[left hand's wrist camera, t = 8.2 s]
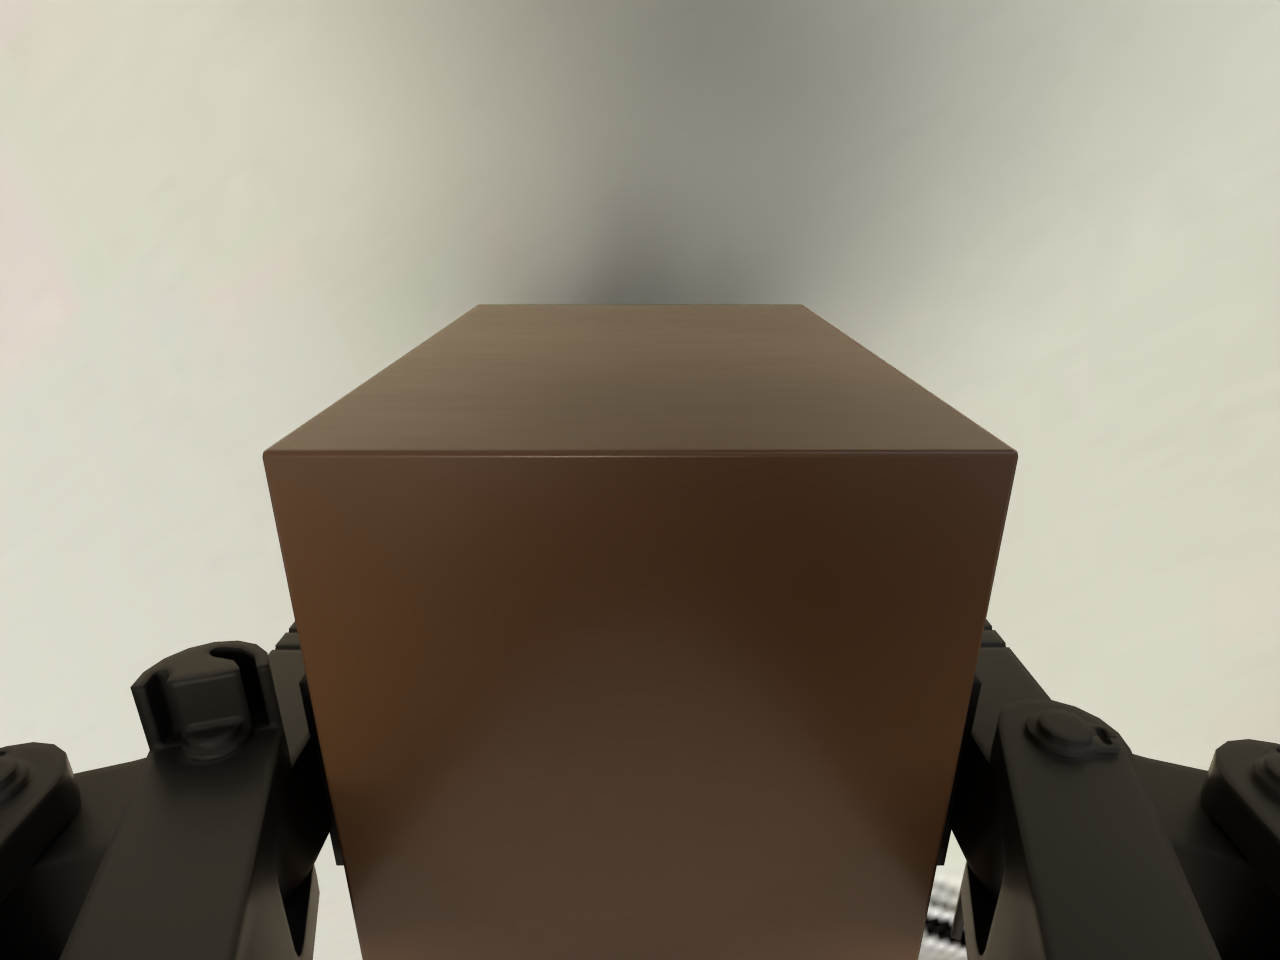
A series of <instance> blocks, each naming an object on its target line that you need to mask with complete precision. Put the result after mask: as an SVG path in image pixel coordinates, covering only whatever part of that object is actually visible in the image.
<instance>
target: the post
mask: <svg viewBox="0 0 1280 960" xmlns="http://www.w3.org/2000/svg"><path fill="white" fill-rule="evenodd" d="M1017 460H1018V453H1017V451H1016V450H1014V449H1013V448H1011V447H1010V446H1008V445H1007V444H1006V443H1004V442H1003V441H1001V440H1000V439H998V438H997V437H995V436H994V435H992V434H991V433H989V432H988V431H986V430H985V429H984V428H982V427H981V426H979V425H978V424H976V423H975V422H973V421H972V420H970V419H969V418H967V417H966V416H965V415H963V414H962V413H960V412H959V411H957V410H956V409H954V408H953V407H951V406H950V405H948V404H947V403H945V402H944V401H943V400H941V399H940V398H938V397H937V396H935V395H934V394H932V393H931V392H929V391H928V390H926V389H925V388H923V387H922V386H921V385H919V384H918V383H916V382H915V381H913V380H912V379H910V378H909V377H907V376H906V375H904V374H903V373H901V372H900V371H899V370H897V369H896V368H894V367H893V366H891V365H890V364H888V363H887V362H885V361H884V360H882V359H881V358H879V357H878V356H877V355H875V354H874V353H872V352H871V351H869V350H868V349H866V348H865V347H863V346H862V345H860V344H859V343H857V342H856V341H855V340H853V339H852V338H850V337H849V336H847V335H846V334H844V333H843V332H841V331H840V330H838V329H837V328H835V327H834V326H833V325H831V324H830V323H828V322H827V321H825V320H824V319H822V318H821V317H819V316H818V315H816V314H815V313H814V312H812V311H811V310H809V309H808V308H806V307H805V306H803V305H477V306H476V307H474V308H473V309H471V310H470V311H468V312H467V313H466V314H464V315H463V316H461V317H460V318H458V319H457V320H455V321H454V322H452V323H451V324H449V325H448V326H447V327H445V328H444V329H442V330H441V331H439V332H438V333H436V334H435V335H433V336H432V337H430V338H429V339H427V340H426V341H425V342H423V343H422V344H420V345H419V346H417V347H416V348H414V349H413V350H411V351H410V352H408V353H407V354H406V355H404V356H403V357H401V358H400V359H398V360H397V361H395V362H394V363H392V364H391V365H389V366H388V367H387V368H385V369H384V370H382V371H381V372H379V373H378V374H376V375H375V376H373V377H372V378H370V379H369V380H367V381H366V382H365V383H363V384H362V385H360V386H359V387H357V388H356V389H354V390H353V391H351V392H350V393H348V394H347V395H346V396H344V397H343V398H341V399H340V400H338V401H337V402H335V403H334V404H332V405H331V406H329V407H328V408H327V409H325V410H324V411H322V412H321V413H319V414H318V415H316V416H315V417H313V418H312V419H310V420H309V421H307V422H306V423H305V424H303V425H302V426H300V427H299V428H297V429H296V430H294V431H293V432H291V433H290V434H288V435H287V436H286V437H284V438H283V439H281V440H280V441H278V442H277V443H275V444H274V445H272V446H271V447H269V448H268V449H266V450H265V451H264V452H263V462H264V467H265V472H266V477H267V482H268V487H269V492H270V497H271V502H272V507H273V512H274V517H275V522H276V527H277V532H278V537H279V542H280V547H281V552H282V557H283V562H284V567H285V572H286V577H287V582H288V587H289V592H290V597H291V602H292V607H293V612H294V617H295V622H296V627H297V632H298V637H299V642H300V647H301V652H302V657H303V662H304V667H305V672H306V677H307V682H308V687H309V692H310V697H311V702H312V707H313V713H314V718H315V723H316V728H317V733H318V738H319V743H320V748H321V753H322V758H323V763H324V768H325V773H326V778H327V783H328V788H329V793H330V798H331V803H332V808H333V813H334V818H335V823H336V828H337V833H338V838H339V843H340V848H341V853H342V858H343V863H344V868H345V873H346V878H347V883H348V888H349V893H350V898H351V903H352V908H353V913H354V918H355V923H356V928H357V933H358V938H359V943H360V948H361V953H362V958H363V960H918V957H919V952H920V947H921V942H922V937H923V932H924V927H925V922H926V917H927V912H928V907H929V902H930V897H931V892H932V887H933V882H934V877H935V872H936V867H937V862H938V857H939V852H940V847H941V842H942V836H943V831H944V826H945V821H946V816H947V811H948V806H949V801H950V796H951V791H952V786H953V781H954V776H955V771H956V766H957V761H958V756H959V751H960V746H961V741H962V736H963V731H964V726H965V721H966V716H967V711H968V706H969V701H970V696H971V691H972V686H973V681H974V676H975V671H976V666H977V661H978V656H979V651H980V646H981V641H982V636H983V631H984V626H985V621H986V616H987V611H988V606H989V601H990V596H991V591H992V586H993V581H994V576H995V571H996V565H997V560H998V555H999V550H1000V545H1001V540H1002V535H1003V530H1004V525H1005V520H1006V515H1007V510H1008V505H1009V500H1010V495H1011V490H1012V485H1013V480H1014V475H1015V470H1016V465H1017Z"/></svg>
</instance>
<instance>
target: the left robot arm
mask: <svg viewBox="0 0 1280 960" xmlns="http://www.w3.org/2000/svg"><path fill="white" fill-rule="evenodd" d="M1005 644H1006V643H1005V642H1004V641H1003V639H1002V638H1001V637H1000V636H999V634H998V633H997V632H996V631H995V630H992V626H991V624H990V623H989V622H988V621H987V619H986V621H985V626H984V631H983V636H982V641H981V646H980V651H979V656H978V661H977V666H976V671H975V676H974V681H973V686H972V691H971V696H970V701H969V706H968V711H967V716H966V721H965V726H964V731H963V736H962V741H961V746H960V751H959V756H958V761H957V766H956V771H955V776H954V781H953V786H952V791H951V796H950V801H949V806H948V811H947V816H946V821H945V826H944V831H943V836H942V842H941V847H940V852H939V857H938V862H937V865H944V863H945V858H946V853H947V848H948V843H949V839H950V834H951V829H952V831H953V833H954V835H955V838H956V840H957V842H958V844H959V846H960V848H961V850H962V852H963V854H964V856H965V858H966V860H967V861H966V866H965V870H964V875H963V879H962V884H961V888H960V893H959V897H958V902H957V906H956V911H955V915H954V920H953V925H952V931H951V938H954V939H958V940H961V936H962V931H963V927H964V930H965V939H966V949H967V959H968V960H1280V744H1276V743H1270V742H1264V741H1257V740H1251V739H1245V740H1235V741H1227V742H1226V743H1225V744H1223V745H1222V746H1220V747H1219V748H1218V749H1216V751H1215V754H1214V757H1213V759H1212V762H1211V765H1210V768H1209V770H1208V771H1205V770H1201V769H1196V768H1191V767H1187V766H1182V765H1177V764H1173V763H1168V762H1163V761H1158V760H1154V759H1149V758H1145V757H1142V756H1138V755H1134V754H1132V752H1131V750H1130V748H1129V747H1128V745H1127V744H1126V743H1125V741H1124V740H1123V738H1122V737H1121V736H1120V734H1119V733H1118V732H1117V731H1115V730H1114V729H1113V728H1111V727H1110V726H1109V725H1107V724H1106V723H1105V722H1104V721H1102V720H1101V719H1100V718H1098V717H1096V716H1094V715H1092V714H1090V713H1087V712H1085V711H1083V710H1081V709H1079V708H1077V707H1075V706H1071V705H1067V704H1064V703H1060V702H1056V701H1053V700H1051V699H1050V698H1049V696H1048V695H1047V694H1046V693H1045V691H1044V690H1043V689H1042V688H1041V686H1040V685H1039V684H1038V683H1037V681H1036V680H1035V679H1034V678H1033V677H1032V675H1031V674H1030V673H1029V672H1028V670H1027V669H1026V668H1025V667H1024V665H1023V664H1022V663H1021V662H1020V660H1019V659H1018V658H1017V657H1016V655H1015V654H1014V653H1013V652H1012V650H1011V649H1010V648H1009V647H1006V645H1005ZM131 691H132V694H133V697H134V700H135V704H136V707H137V710H138V713H139V716H140V720H141V723H142V726H143V729H144V733H145V736H146V739H147V742H148V745H149V749H150V751H149V753H148V756H147V758H143V759H140V760H136V761H132V762H127V763H123V764H118V765H113V766H109V767H104V768H99V769H95V770H90V771H85V772H80V773H76V774H73V771H72V768H71V766H70V763H69V760H68V757H67V755H66V752H64V751H63V750H61V749H60V748H59V747H57V746H56V745H54V744H46V743H36V742H31V743H25V744H19V745H12V746H6V747H3V748H0V960H313V951H314V941H315V932H316V922H317V912H318V903H319V886H318V880H317V875H316V870H315V866H314V863H315V861H316V859H317V857H318V855H319V853H320V851H321V848H322V846H323V844H324V842H325V840H326V838H327V836H328V834H329V832H330V836H331V841H332V846H333V851H334V855H335V860H336V865H344V863H343V858H342V853H341V848H340V843H339V838H338V833H337V828H336V823H335V818H334V813H333V808H332V803H331V798H330V793H329V788H328V783H327V778H326V773H325V768H324V763H323V758H322V753H321V748H320V743H319V738H318V733H317V728H316V723H315V718H314V713H313V707H312V702H311V697H310V692H309V687H308V682H307V677H306V672H305V667H304V662H303V657H302V652H301V647H300V642H299V637H298V632H297V627H296V622H294V623H293V624H292V626H291V627H290V628H289V633H285V634H284V636H283V637H282V638H281V639H280V641H279V642H278V643H277V644H276V648H275V650H272V651H271V652H270V653H269V654H267V652H266V651H264V650H263V649H262V648H261V647H259V646H258V645H257V644H252V643H247V642H242V641H224V642H213V643H209V644H204V645H200V646H196V647H192V648H188V649H186V650H184V651H181V652H179V653H176V654H174V655H172V656H169V657H167V658H165V659H163V660H161V661H160V662H158V663H157V664H155V665H154V666H152V667H151V668H149V669H148V670H146V671H145V672H143V673H142V675H141V676H140V677H139V678H138V679H137V680H136V682H135V683H134V684H133V685H132V686H131Z"/></svg>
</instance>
